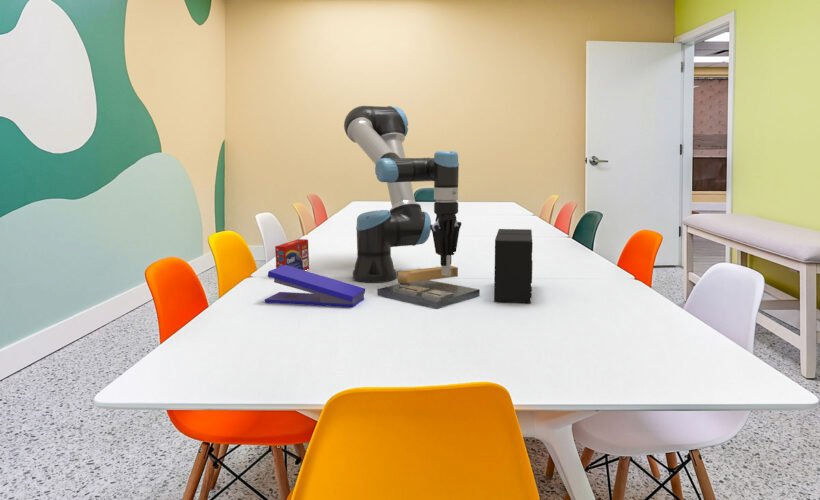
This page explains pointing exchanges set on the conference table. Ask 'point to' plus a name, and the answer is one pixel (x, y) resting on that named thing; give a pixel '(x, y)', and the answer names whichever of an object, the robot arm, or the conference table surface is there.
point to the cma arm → (424, 274)
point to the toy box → (293, 254)
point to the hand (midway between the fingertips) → (445, 275)
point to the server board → (429, 293)
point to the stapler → (313, 289)
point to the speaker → (513, 265)
